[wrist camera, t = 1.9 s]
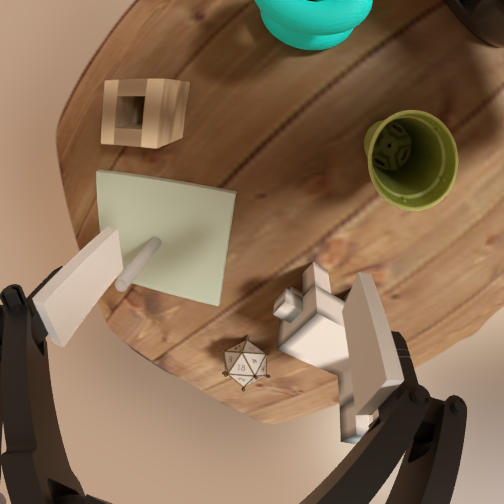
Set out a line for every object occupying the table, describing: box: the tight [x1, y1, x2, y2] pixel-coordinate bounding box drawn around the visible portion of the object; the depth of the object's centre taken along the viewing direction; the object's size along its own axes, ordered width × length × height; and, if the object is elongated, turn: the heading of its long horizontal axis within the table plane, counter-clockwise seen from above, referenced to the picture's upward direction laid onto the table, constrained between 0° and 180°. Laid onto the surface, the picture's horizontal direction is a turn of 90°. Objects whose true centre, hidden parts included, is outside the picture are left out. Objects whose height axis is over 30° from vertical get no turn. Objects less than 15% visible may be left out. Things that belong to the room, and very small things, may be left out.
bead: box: [101, 79, 190, 149], centre depth 26 cm, size 7×7×7 cm
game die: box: [220, 335, 271, 392], centre depth 44 cm, size 9×8×10 cm
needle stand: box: [96, 169, 237, 306], centre depth 33 cm, size 18×20×12 cm
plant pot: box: [364, 110, 458, 211], centre depth 24 cm, size 9×9×9 cm
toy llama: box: [273, 262, 379, 444], centre depth 31 cm, size 8×18×20 cm, turn 59°
